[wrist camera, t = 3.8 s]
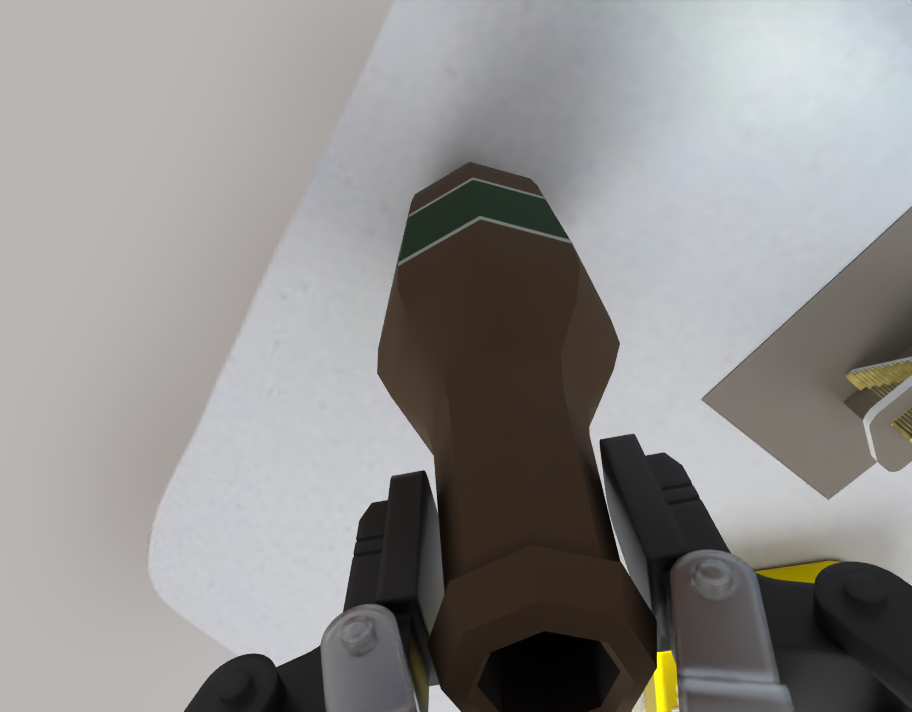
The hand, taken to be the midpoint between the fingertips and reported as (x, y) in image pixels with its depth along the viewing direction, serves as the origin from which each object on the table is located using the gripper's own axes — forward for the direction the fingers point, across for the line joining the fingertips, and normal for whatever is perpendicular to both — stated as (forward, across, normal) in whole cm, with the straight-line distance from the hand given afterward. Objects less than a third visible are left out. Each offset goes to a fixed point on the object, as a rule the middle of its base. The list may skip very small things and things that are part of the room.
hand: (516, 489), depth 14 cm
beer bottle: (+19, 0, 0) cm, 19 cm away
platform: (+22, -22, +12) cm, 33 cm away
